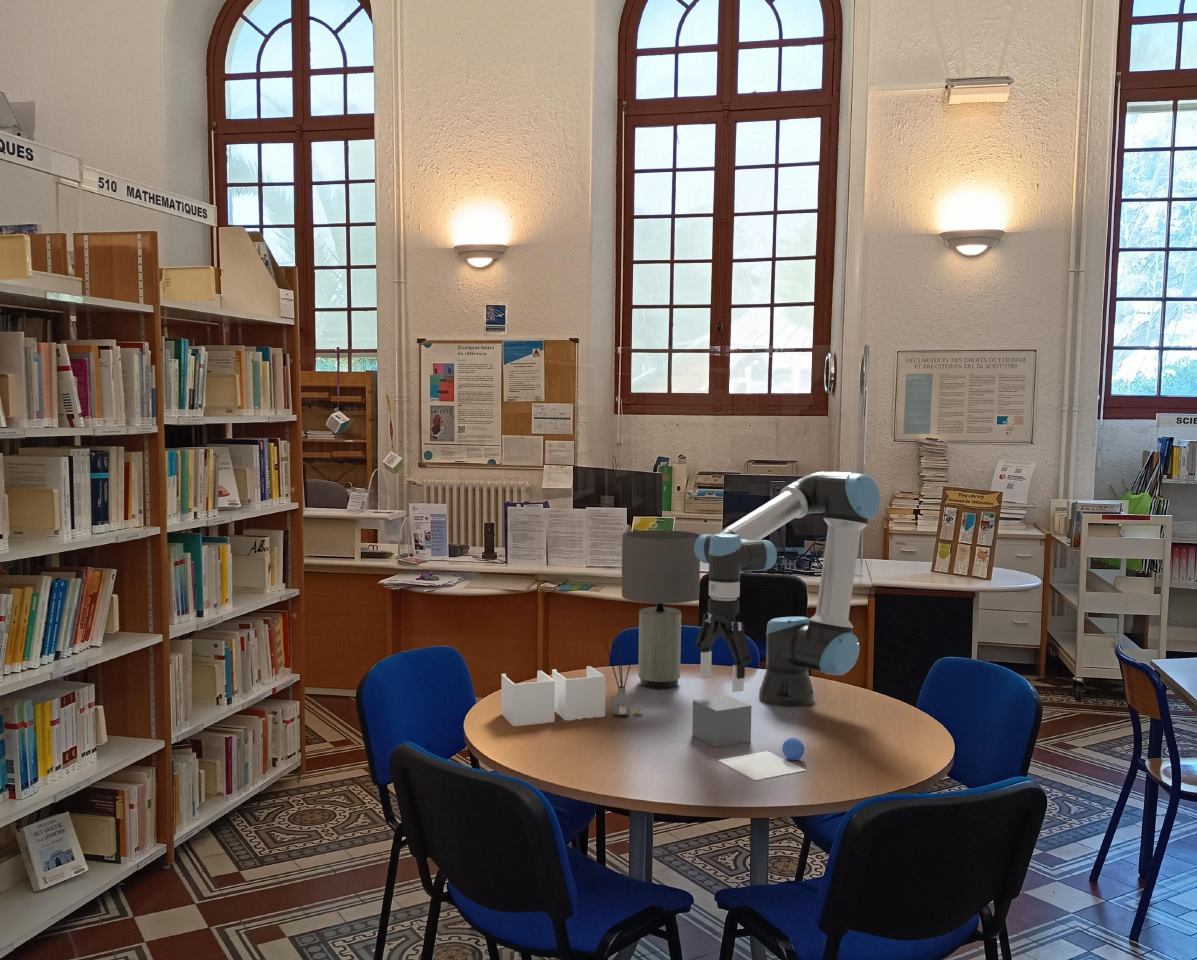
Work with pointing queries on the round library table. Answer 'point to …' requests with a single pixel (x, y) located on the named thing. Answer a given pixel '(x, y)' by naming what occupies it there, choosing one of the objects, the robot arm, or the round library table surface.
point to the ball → (793, 749)
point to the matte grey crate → (721, 721)
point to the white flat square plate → (761, 765)
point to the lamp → (660, 597)
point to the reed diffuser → (622, 691)
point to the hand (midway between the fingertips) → (721, 684)
